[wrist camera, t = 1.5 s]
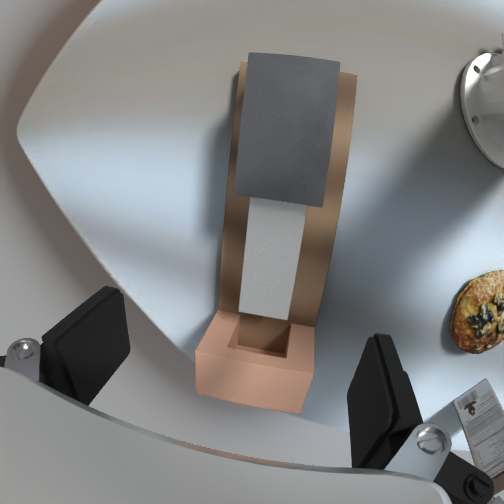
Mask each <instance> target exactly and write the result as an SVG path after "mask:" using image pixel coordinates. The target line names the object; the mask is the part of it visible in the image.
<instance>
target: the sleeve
mask: <svg viewBox="0 0 504 504" xmlns="http://www.w3.org/2000/svg"><path fill="white" fill-rule="evenodd" d="M339 71H340V62H337V61H331V60H324V59H317V58H310V57H302V56H293V55H282V54H269V53H249V56H248V64H247V72H246V80H245V89H244V98H243V106H242V115H241V125H240V134H239V143H238V153H237V163H236V173H235V183H234V194H233V195H239V196H247V197H254V198H261V199H268V200H275V201H282V202H289V203H295V204H302V205H308V206H314V207H320V208H323V202H324V195H325V189H326V182H327V175H328V168H329V161H330V154H331V146H332V138H333V130H334V122H335V113H336V103H337V93H338V83H339Z"/></svg>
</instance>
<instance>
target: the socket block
mask: <svg viewBox="0 0 504 504" xmlns="http://www.w3.org/2000/svg"><path fill="white" fill-rule="evenodd" d="M240 316H241V315H240V314H235V313H230V312H225V311H220V310H218V311H217V312H216V314H215V316H214V318H213V320H212V321H211V323H210V325H209V327H208V329H207V330H206V332H205V334H204V336H203V338H202V339H201V341H200V343H199V345H198V347H197V348H196V350H195V372H196V373H195V375H196V376H195V377H196V393H197V394H201V395H205V396H209V397H213V398H217V399H221V400H225V401H230V402H234V403H239V404H244V405H249V406H255V407H260V408H265V409H271V410H277V411H283V412H289V413H296V414H300V413H301V411H302V408H303V405H304V402H305V399H306V396H307V393H308V390H309V387H310V384H311V381H312V378H313V375H314V352H315V327H310V326H303V325H297V324H291V328H290V332H289V337H288V342H287V346H286V351H285V354H284V353H278V352H272V351H266V350H261V349H256V348H250V347H245V346H240V345H238V335H239V325H240Z"/></svg>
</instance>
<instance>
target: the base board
mask: <svg viewBox="0 0 504 504" xmlns="http://www.w3.org/2000/svg"><path fill="white" fill-rule="evenodd" d="M247 64H248V62H240V70H239V78H238V87H237V95H236V104H235V113H234V122H233V132H232V141H231V151H230V161H229V172H228V182H227V193H226V205H225V217H224V229H223V242H222V255H221V269H220V284H219V299H218V310H220V311H225V312H230V313H235V314H240V315H241V316H240V325H239V335H238V345H240V346H245V347H250V348H256V349H261V350H266V351H272V352H278V353H284V354H285V351H286V346H287V342H288V337H289V332H290V328H291V324H297V325H303V326H310V327H315V324H316V320H317V316H318V312H319V308H320V304H321V299H322V295H323V291H324V287H325V282H326V278H327V273H328V268H329V264H330V259H331V254H332V249H333V244H334V239H335V234H336V229H337V223H338V218H339V212H340V207H341V201H342V195H343V189H344V182H345V176H346V169H347V162H348V155H349V148H350V140H351V132H352V123H353V114H354V105H355V94H356V83H357V75H353V74H348V73H342V72H339V83H338V93H337V103H336V113H335V122H334V130H333V138H332V146H331V154H330V161H329V168H328V175H327V182H326V189H325V195H324V202H323V208H320V207H314V206H308V205H307V210H306V216H305V223H304V229H303V235H302V241H301V247H300V253H299V259H298V265H297V271H296V276H295V282H294V287H293V293H292V298H291V303H290V309H289V314H288V319H287V320H283V319H278V318H272V317H266V316H261V315H255V314H250V313H244V312H239V302H240V292H241V282H242V272H243V263H244V253H245V243H246V234H247V224H248V215H249V205H250V197H247V196H239V195H233V194H234V183H235V173H236V163H237V153H238V143H239V134H240V125H241V115H242V106H243V98H244V89H245V80H246V72H247Z"/></svg>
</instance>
